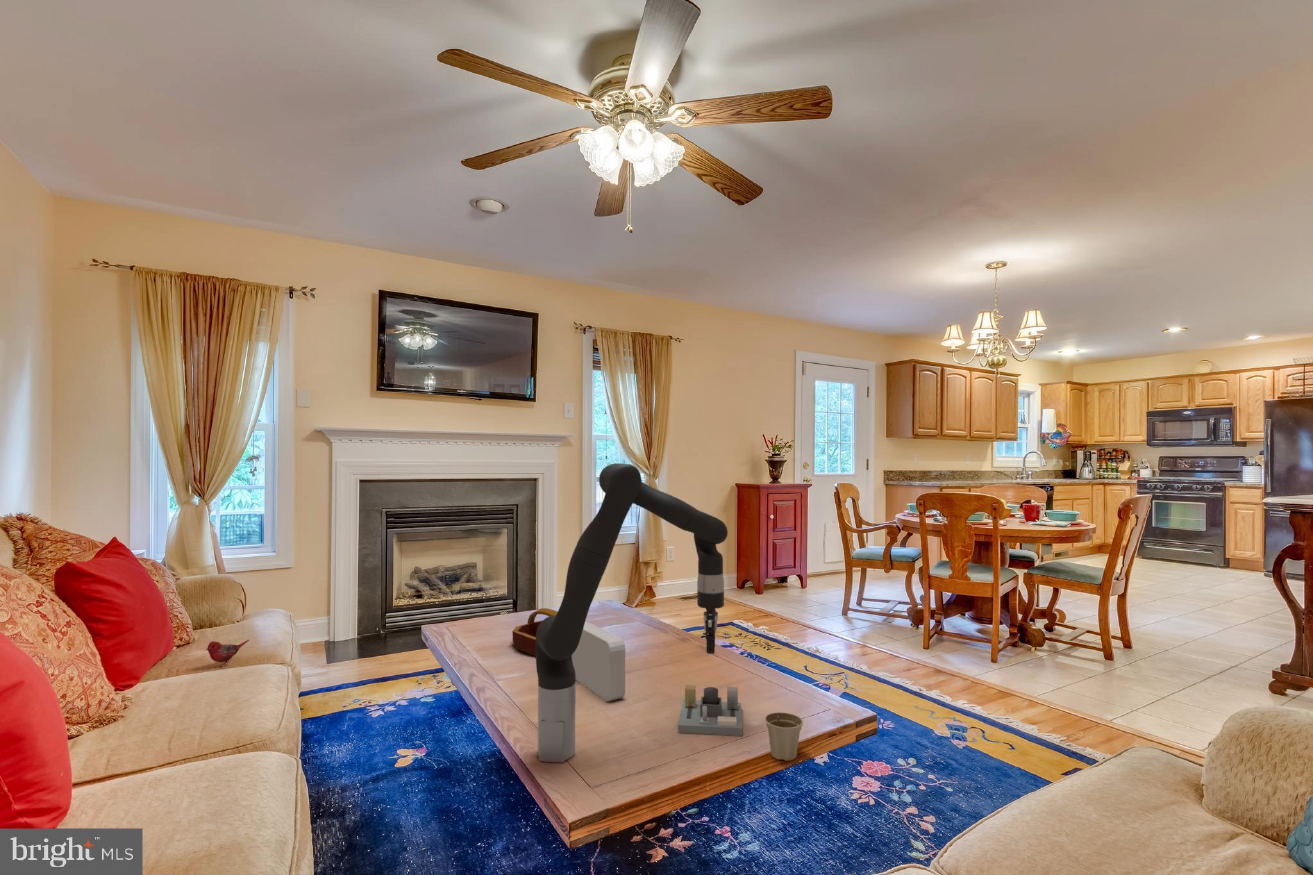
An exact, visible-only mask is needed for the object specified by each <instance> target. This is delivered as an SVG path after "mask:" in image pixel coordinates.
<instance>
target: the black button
mask: <svg viewBox="0 0 1313 875" xmlns="http://www.w3.org/2000/svg"><path fill="white" fill-rule="evenodd" d="M703 697H704V702H706V703H711V704H713V703H717V702H718V697H719V689H718V688H716V687H714V686H709V687H708V686H707V687H705V688H703Z"/></svg>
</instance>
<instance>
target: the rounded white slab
mask: <svg viewBox="0 0 1313 875" xmlns="http://www.w3.org/2000/svg"><path fill="white" fill-rule="evenodd" d="M572 662H573V666H574V669H575V673H576V681H577V682H578V683H579V684H581V685H582V686H584V687H585V688H586V689H588V690H589V691H590V692H592V693H593V694H594V695H596V696H597V697H599V698H601V699H602V700H603V701H605V702H611V701H615V700H620V699H623V698H624V697H625V695H626V645H625V643H624V640H623V639H622V638H621V637H619V636H618V635H615V634H613V633H611V632H609V631H608V630H605V629H603V628H601V627H599V626H597V625H595V624H593V623H591V622H588V621H587V620H586V621H585V624H584V628H583V631H582V635H581V638H580V642H579V645H578V647H577V649H576V650H575V652H574V653H573V654H572Z"/></svg>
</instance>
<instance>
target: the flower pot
mask: <svg viewBox="0 0 1313 875" xmlns="http://www.w3.org/2000/svg"><path fill="white" fill-rule="evenodd" d="M763 719H764V722H765V723H766V724H765V725H766V728H767V732H768V739H769V740H768V741H769V747H770V755H771V756H772V757H773V758H774V759H776V760H780V761H781V760H784V761H785V762H786V761H788V762H789V761H793V760H795V759H797V755H798V749H799V740H800V739H799V738H800V733H801V730H802V726H803V725H804V719H802V717H800V716H798V715H797V714H793V713H790V712H785V711H783V712H781V711H776V712H770V713H768V714H766V715H765V716H764V718H763Z"/></svg>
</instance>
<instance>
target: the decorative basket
mask: <svg viewBox="0 0 1313 875" xmlns="http://www.w3.org/2000/svg"><path fill="white" fill-rule="evenodd" d="M557 612H558V611H557V610H554V609H552V608H546V607H544V608H539V609H537V610H535V611H533V612H532V613H530V615H529V616H528V618H527V621H526V622H527V623H525V624H521V625H518V626H515V628H513V630H512V632H511V633H512V647H513V648H514V649H517V650H518V651H522V652H524V653H526V654H529V655H532V656H535V657H536V633H537V629H538V627H539V625H540V623H541V622H542V621H543V620H544V619H542V620H538V621H537V620H536V621H535V619H536V617H537V616H538V615H544V616H547V617H549V616H553V615H557Z"/></svg>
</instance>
